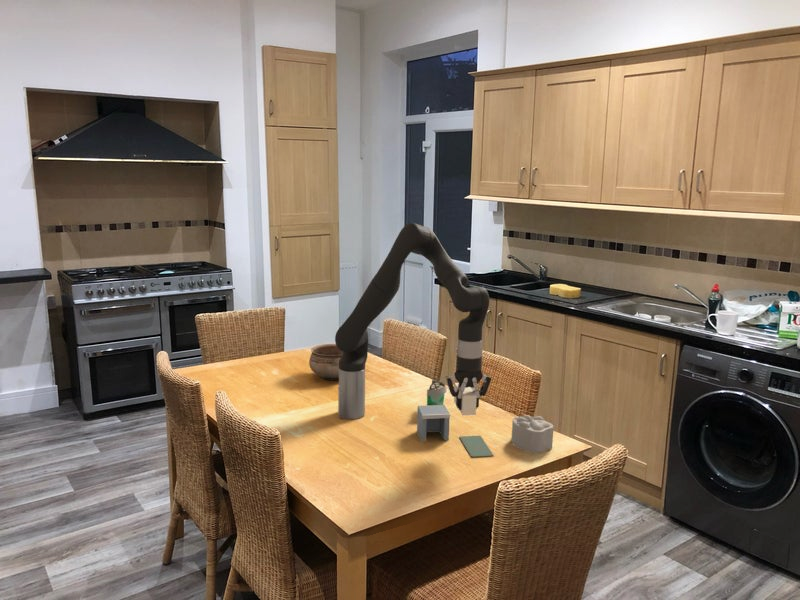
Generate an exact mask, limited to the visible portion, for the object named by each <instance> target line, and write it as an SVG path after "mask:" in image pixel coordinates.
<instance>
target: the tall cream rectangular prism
mask: <svg viewBox="0 0 800 600" xmlns="http://www.w3.org/2000/svg"><path fill="white" fill-rule="evenodd" d="M458 384H459V382H454V390H455V391H456V392H457V389H458ZM461 398H462V409H461V410H459V412H460V413H461V415H462V416H474V415H475V416H476V415H477V409H476V398H477V395H476V394H475V393H474V391H473V388H471V387H467V388H465V390H464V392H463V394H462V397H461ZM453 402H454V403H455V404H456V397H453Z"/></svg>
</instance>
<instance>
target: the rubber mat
mask: <svg viewBox="0 0 800 600" xmlns="http://www.w3.org/2000/svg"><path fill="white" fill-rule="evenodd" d="M459 439H460V441H461V443H462V444H463V446H464V447H465V449H466V451H467V452H468V454H469V456H470V458H474V459H475V458H491V457H492V458H493V457H495V454H494V453H493V452H492V450H491V449H490V447H489V446H488V445H487V443H486V441H485V440H484V439H483V437H482V436H481V435H466V436H465V435H464V436H463V435H461V436H460V435H459Z"/></svg>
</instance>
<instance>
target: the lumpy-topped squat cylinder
mask: <svg viewBox="0 0 800 600" xmlns="http://www.w3.org/2000/svg"><path fill="white" fill-rule="evenodd" d="M511 426H512V427H511V439H510V440H511V443H512V445H514V446H513V447H516V448H518V449H520V450H523V451H524V452H527V453H531V454H543V453H544V452H546V451H548V450H552V449H553V441H554V440H553V438H554V430H555V429H554V425H553V424H552V423H551V422H548V421H546V420H545V419H544V417H542V416H540V415H536V416H530V415H529V414H525V415H522V416H521V415H518V416H515V417H514V418H513V419H512V425H511Z"/></svg>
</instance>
